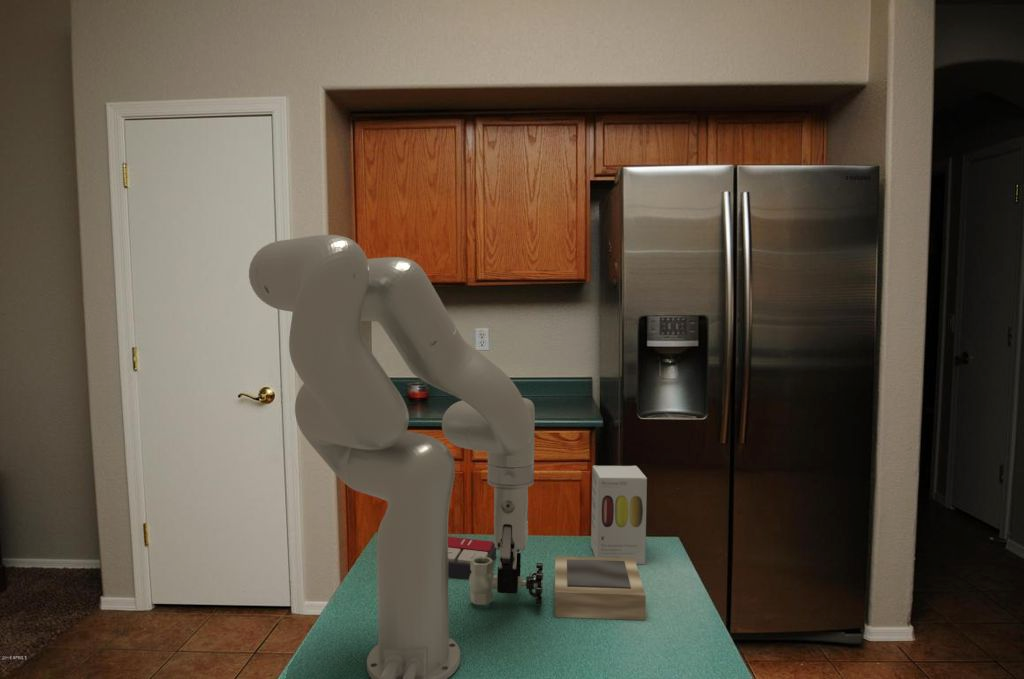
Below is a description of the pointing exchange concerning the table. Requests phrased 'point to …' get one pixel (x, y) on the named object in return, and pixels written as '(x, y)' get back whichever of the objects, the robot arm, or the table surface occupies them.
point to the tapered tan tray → (598, 588)
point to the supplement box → (619, 512)
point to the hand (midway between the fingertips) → (509, 583)
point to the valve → (486, 580)
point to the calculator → (466, 555)
